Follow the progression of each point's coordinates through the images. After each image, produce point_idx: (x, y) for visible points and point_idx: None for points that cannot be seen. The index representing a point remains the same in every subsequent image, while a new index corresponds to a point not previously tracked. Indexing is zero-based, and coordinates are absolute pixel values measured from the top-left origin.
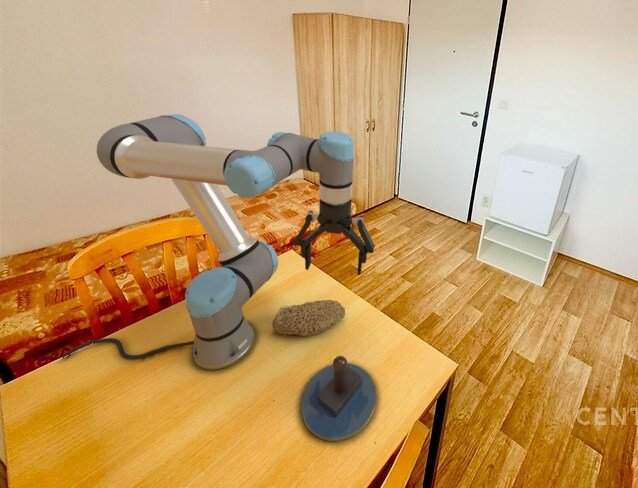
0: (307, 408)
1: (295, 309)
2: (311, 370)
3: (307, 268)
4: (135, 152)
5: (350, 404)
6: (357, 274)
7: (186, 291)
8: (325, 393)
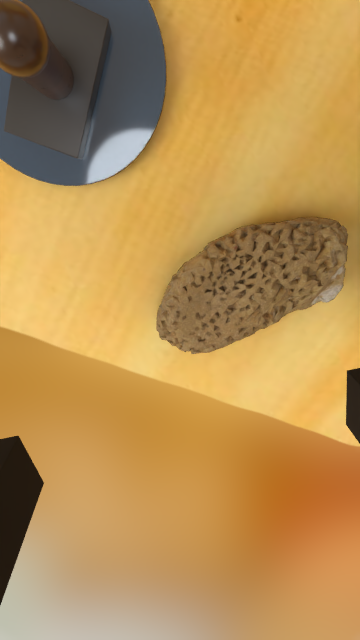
0: (130, 2)
1: (298, 285)
2: (178, 142)
3: (358, 376)
4: None
5: None
6: (17, 436)
7: None
8: (87, 37)
